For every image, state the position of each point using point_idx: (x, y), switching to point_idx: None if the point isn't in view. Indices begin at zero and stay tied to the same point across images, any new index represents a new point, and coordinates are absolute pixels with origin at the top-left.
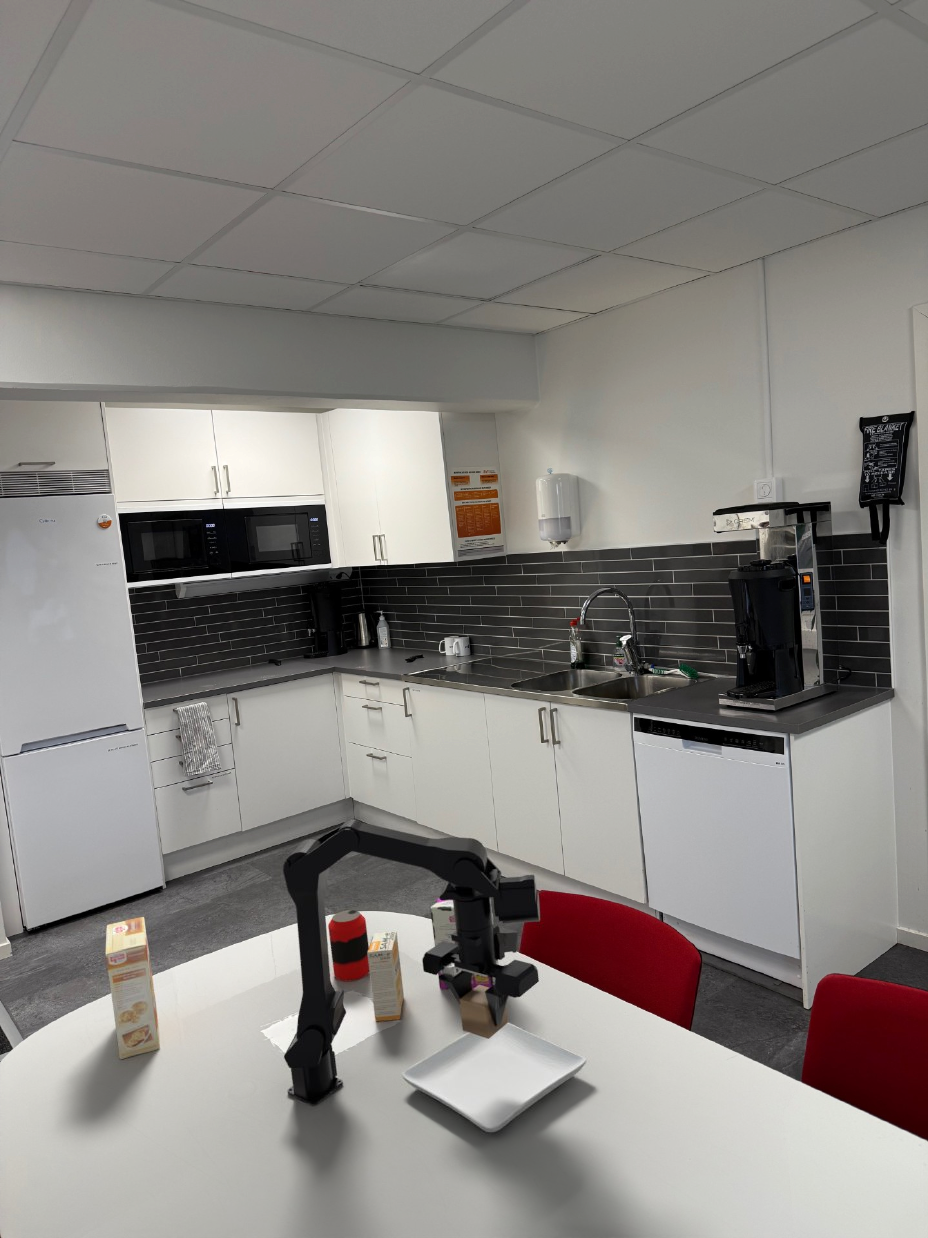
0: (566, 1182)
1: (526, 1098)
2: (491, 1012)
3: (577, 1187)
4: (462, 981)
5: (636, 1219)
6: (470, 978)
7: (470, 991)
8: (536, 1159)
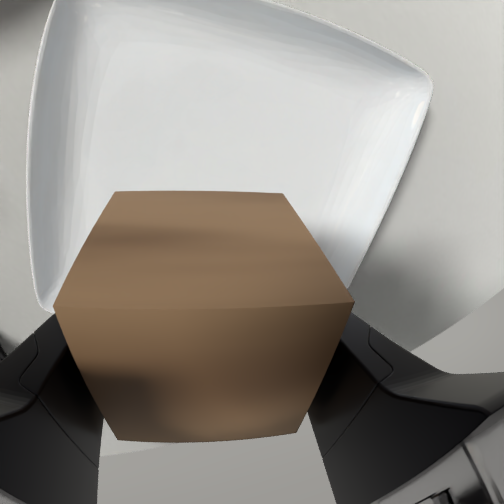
0: (412, 312)
1: (322, 212)
2: None
3: (423, 310)
4: (67, 479)
5: (468, 308)
6: (30, 422)
7: (92, 390)
8: (373, 304)
